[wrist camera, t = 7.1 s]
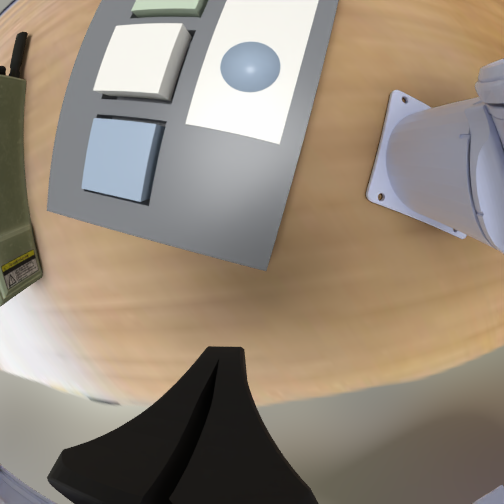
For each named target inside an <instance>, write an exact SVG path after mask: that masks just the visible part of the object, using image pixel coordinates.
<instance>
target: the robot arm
mask: <svg viewBox="0 0 504 504" xmlns="http://www.w3.org/2000/svg"><path fill="white" fill-rule="evenodd" d="M478 80H479V81H477V82H476V83H475V89H476V91H477V93H478V96H479V97H476V98H472V99H467V100H463V101H458V102H454V103H450V104H446V105H442V106H438V107H434V108H431V107H430V106H428V105H426V104H424V103H422V102H421V101H419V100H417V99H415V98H413V97H411V96H409V95H407V94H405V93H403V92H401V91H399V90H394V91H392V92H391V94H390V98H389V103H388V108H387V113H386V117H385V122H384V126H383V131H382V135H381V139H380V143H379V147H378V151H377V155H376V159H375V163H374V166H373V170H372V174H371V177H370V181H369V184H368V188H367V191H366V197H367V199H368V200H369V201H371V202H373V203H376V204H379V205H382V206H384V207H387V208H390V209H392V210H395V211H397V212H400V213H402V214H405V215H407V216H410V217H412V218H415V219H417V220H420V221H422V222H425V223H427V224H429V225H432V226H434V227H436V228H439V229H441V230H443V231H445V232H448V233H450V234H452V235H454V236H456V237H459V238H461V239H464V238H465V237H466V236H467V235H468V236H470V237H472V238H475V239H477V240H479V241H481V242H483V243H485V244H487V245H489V246H491V247H493V248H495V249H497V250H499V251H500V252H501V253H503V254H504V58H503V59H500V60H498V61H495V62H493V63H490V64H488V65H486V66H484V67H482V68H480V71H479V76H478ZM402 97H403V98H404V99H405V100H406V103H404V102H403V101H402ZM380 193H381V194H382V195H383V198H382V200H380V201H379V200H378V195H379V194H380ZM453 229H455V230H454V231H453ZM47 479H48V481H49V483H50V484H51V485H52V486H53V487H54V488H55V489H56V490H57V491H59V492H60V493H61V494H62V495H64V496H65V497H66V498H68V499H69V500H70V501H72V502H73V503H74V504H318V502H317V500H316V498H315V496H314V495H313V493H312V491H311V489H310V488H309V486H308V485H307V484H306V483H305V482H304V481H303V480H302V479H301V478H300V476H299V475H298V474H297V473H296V472H295V470H294V469H293V468H292V467H291V465H290V464H289V463H288V461H287V460H286V459H285V458H284V456H283V454H282V453H281V451H280V450H279V449H278V447H277V445H276V444H275V442H274V441H273V439H272V437H271V436H270V434H269V432H268V430H267V428H266V427H265V425H264V423H263V421H262V419H261V417H260V415H259V412H258V410H257V408H256V405H255V403H254V400H253V398H252V395H251V392H250V389H249V386H248V382H247V373H246V363H245V352H244V349H243V348H242V347H212V346H208V347H207V348H206V349H205V351H204V352H203V353H202V354H201V356H200V357H199V358H198V359H197V360H196V362H195V363H194V364H193V365H192V366H191V367H190V369H189V370H188V371H187V372H186V373H185V374H184V375H183V376H182V377H181V378H180V380H179V381H178V382H177V383H176V384H175V385H174V386H173V387H172V388H171V389H170V390H168V391H167V392H166V393H165V394H164V395H163V396H162V397H161V398H160V399H159V400H158V401H156V402H155V403H154V404H153V405H152V406H150V407H149V408H148V409H146V410H145V411H144V412H142V413H141V414H140V415H138V416H137V417H135V418H134V419H132V420H130V421H129V422H127V423H125V424H124V425H122V426H121V427H119V428H117V429H115V430H113V431H111V432H109V433H107V434H105V435H103V436H101V437H98V438H96V439H94V440H91V441H89V442H86V443H83V444H80V445H77V446H74V447H71V448H68V449H64V450H63V451H62V452H61V454H60V456H59V457H58V459H57V461H56V463H55V464H54V466H53V468H52V470H51V471H50V473H49V475H48V477H47ZM0 504H57V503H55V502H53V501H51V500H50V499H48V498H46V497H45V496H43V495H42V494H40V493H38V492H37V491H35V490H33V489H32V488H31V487H29V486H28V485H27V484H25V483H24V482H22V481H21V480H19V479H18V478H17V477H15V476H14V475H13V474H11V473H10V472H9V471H8V470H6V469H5V468H4V467H2V465H1V464H0ZM472 504H504V487H503V485H500V486H499V487H497V488H496V489H494V490H493V491H491V492H490V493H488V494H486V495H485V496H483V497H481V498H480V499H478V500H477V501H475V502H473V503H472Z"/></svg>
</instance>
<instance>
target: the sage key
mask: <svg viewBox="0 0 504 504" xmlns="http://www.w3.org/2000/svg"><path fill="white" fill-rule="evenodd" d="M207 2H208V0H136V2H135V4H134V6H133V8H132V10H131V11H132V12H133V13H134V14H135V15H136V16H137V17H138V18H145V17H199V18H201V17H202V14H203V12H204V9H205V7H206V5H207Z"/></svg>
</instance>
